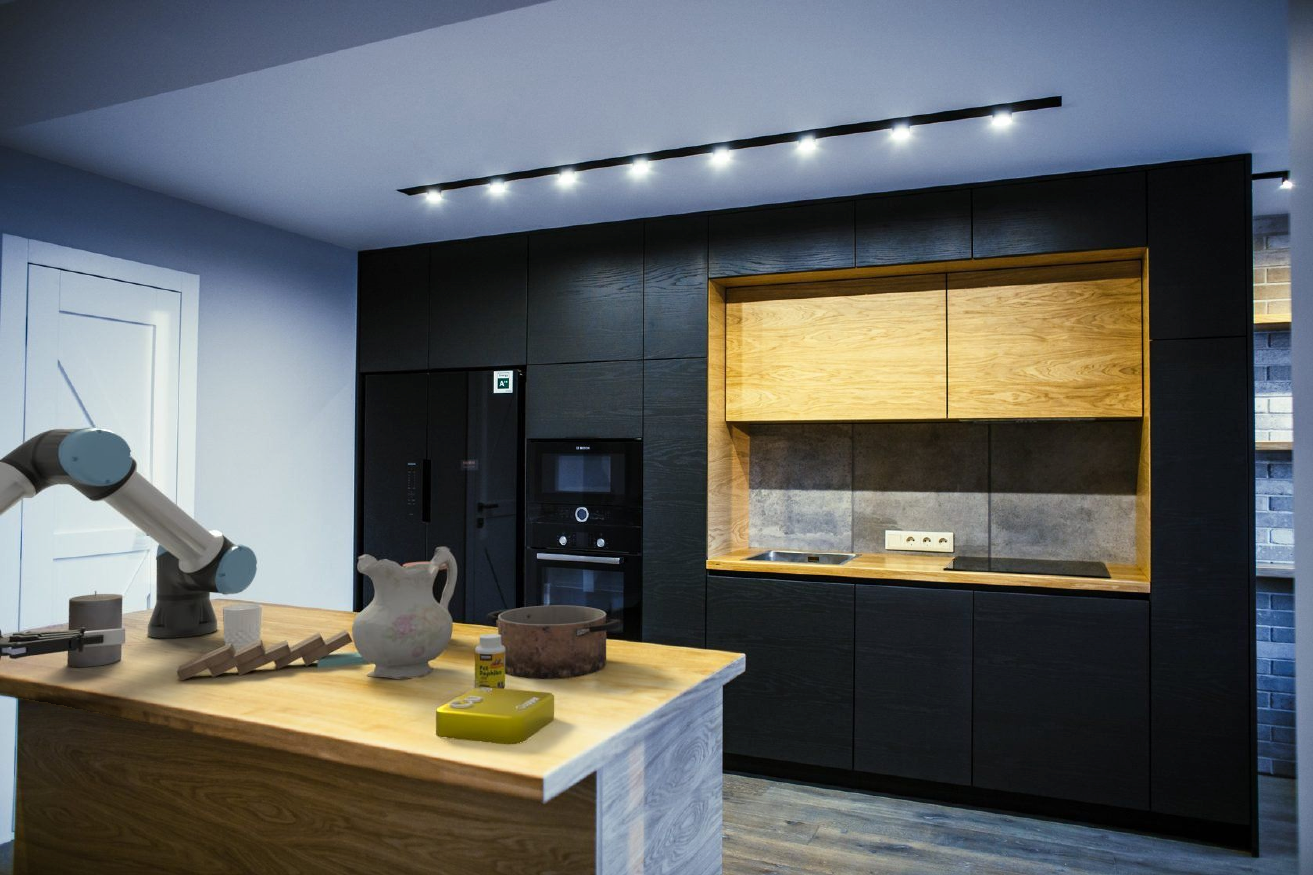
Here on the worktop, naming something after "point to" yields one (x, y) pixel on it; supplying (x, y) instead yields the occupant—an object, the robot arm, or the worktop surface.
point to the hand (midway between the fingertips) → (124, 635)
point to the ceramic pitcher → (404, 616)
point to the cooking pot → (553, 640)
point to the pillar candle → (95, 627)
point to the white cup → (242, 624)
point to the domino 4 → (301, 650)
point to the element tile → (495, 715)
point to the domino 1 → (206, 661)
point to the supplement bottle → (490, 662)
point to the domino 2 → (239, 658)
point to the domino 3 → (265, 657)
